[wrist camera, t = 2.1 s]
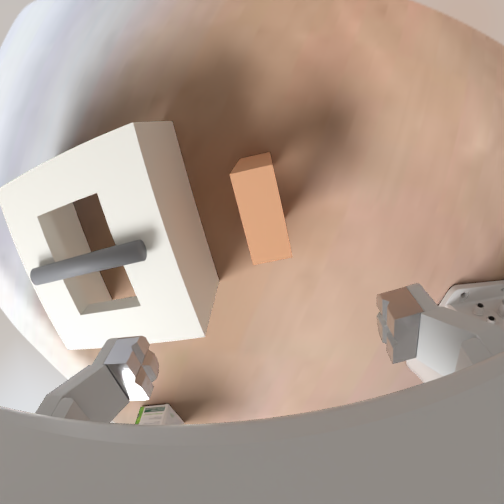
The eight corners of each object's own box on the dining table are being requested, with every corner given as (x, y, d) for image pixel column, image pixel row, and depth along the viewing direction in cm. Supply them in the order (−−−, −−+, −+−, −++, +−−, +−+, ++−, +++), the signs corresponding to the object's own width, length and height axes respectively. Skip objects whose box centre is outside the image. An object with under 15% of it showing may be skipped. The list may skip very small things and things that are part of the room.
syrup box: (168, 402, 45) (147, 478, 31) (186, 423, 47) (170, 495, 33) (140, 405, 46) (115, 475, 32) (158, 425, 48) (139, 493, 34)
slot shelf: (172, 120, 28) (123, 123, 18) (219, 281, 35) (202, 348, 25) (52, 169, 30) (-16, 194, 20) (103, 301, 37) (61, 359, 27)
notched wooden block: (269, 151, 29) (272, 164, 21) (284, 218, 32) (292, 257, 23) (239, 158, 30) (229, 174, 21) (256, 224, 32) (253, 265, 24)
